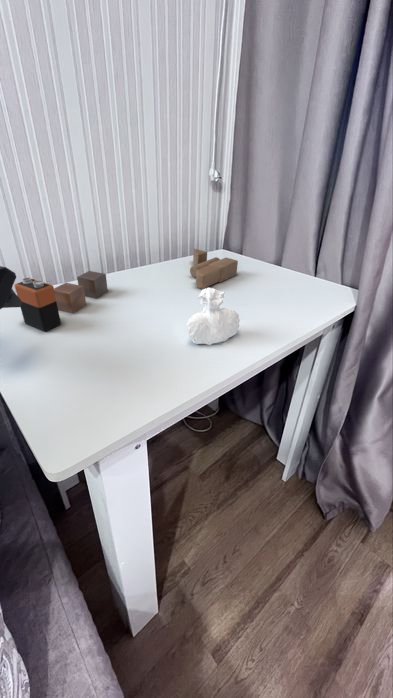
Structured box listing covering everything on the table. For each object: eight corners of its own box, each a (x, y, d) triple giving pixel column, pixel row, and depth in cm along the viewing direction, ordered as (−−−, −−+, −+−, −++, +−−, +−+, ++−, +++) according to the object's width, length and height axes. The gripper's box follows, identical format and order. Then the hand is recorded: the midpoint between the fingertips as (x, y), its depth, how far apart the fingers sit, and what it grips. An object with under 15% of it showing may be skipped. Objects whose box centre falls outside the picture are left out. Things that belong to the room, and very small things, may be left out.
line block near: (73, 314, 76) (69, 293, 73) (55, 309, 77) (51, 289, 74) (86, 305, 80) (83, 286, 77) (69, 301, 81) (65, 282, 78)
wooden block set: (240, 256, 99) (204, 271, 87) (238, 274, 102) (203, 291, 90) (195, 244, 107) (157, 257, 95) (195, 261, 110) (158, 275, 98)
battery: (45, 333, 68) (34, 287, 63) (23, 324, 71) (11, 279, 66) (62, 324, 71) (53, 280, 66) (41, 316, 74) (30, 273, 69)
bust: (233, 339, 73) (221, 290, 74) (251, 334, 66) (238, 280, 67) (184, 351, 69) (171, 298, 69) (198, 346, 62) (184, 288, 62)
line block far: (96, 299, 83) (94, 280, 80) (79, 295, 84) (76, 276, 82) (107, 292, 87) (105, 273, 84) (91, 288, 88) (89, 270, 86)
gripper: (-14, 210, 44) (59, 267, 58) (-109, 197, 49) (-21, 252, 64) (-49, 287, 42) (35, 326, 56) (-145, 264, 47) (-45, 305, 62)
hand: (0, 299), depth 60 cm, fingers open, 9 cm apart
